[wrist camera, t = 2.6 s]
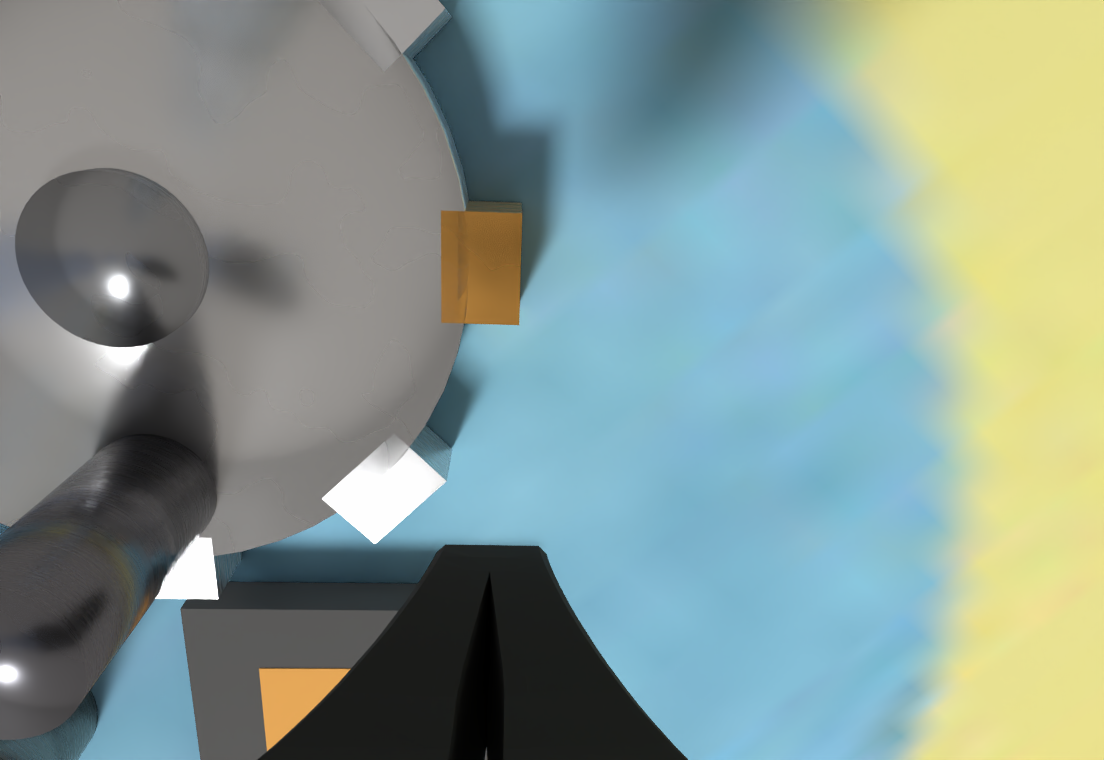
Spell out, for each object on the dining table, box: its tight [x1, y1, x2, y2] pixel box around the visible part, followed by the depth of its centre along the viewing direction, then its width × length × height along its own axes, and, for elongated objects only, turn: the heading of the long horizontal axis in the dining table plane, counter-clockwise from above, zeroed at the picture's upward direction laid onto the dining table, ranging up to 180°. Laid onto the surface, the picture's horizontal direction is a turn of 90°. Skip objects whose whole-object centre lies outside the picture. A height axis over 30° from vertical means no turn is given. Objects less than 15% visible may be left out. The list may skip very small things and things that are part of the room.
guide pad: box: [181, 582, 487, 760], centre depth 19 cm, size 7×7×1 cm
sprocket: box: [0, 0, 522, 740], centre depth 12 cm, size 14×14×6 cm
